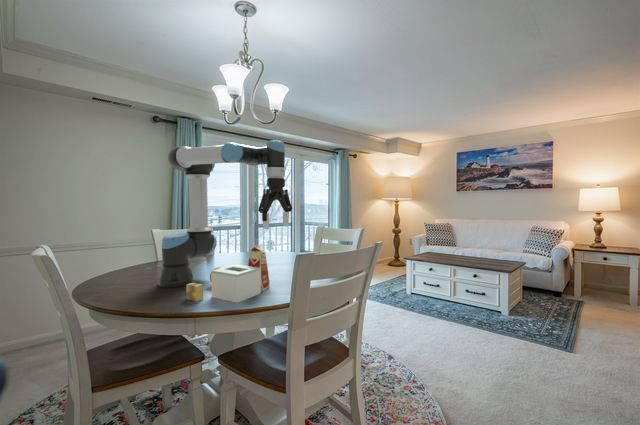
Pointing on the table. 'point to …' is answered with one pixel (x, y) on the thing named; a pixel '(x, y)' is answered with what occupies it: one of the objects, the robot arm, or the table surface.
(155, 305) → the table surface
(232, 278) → the coin box
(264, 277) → the milk carton
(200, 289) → the cardboard box
